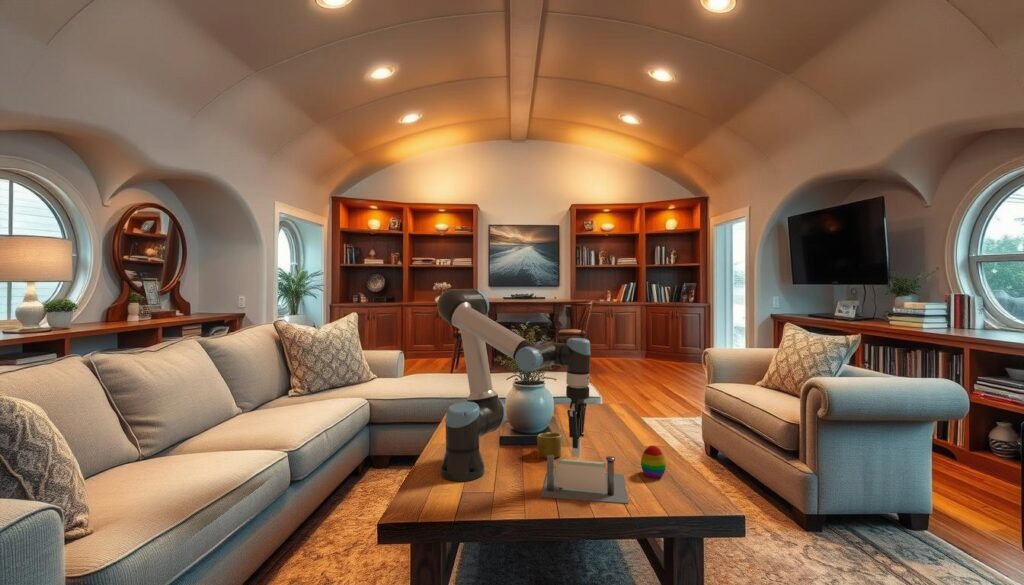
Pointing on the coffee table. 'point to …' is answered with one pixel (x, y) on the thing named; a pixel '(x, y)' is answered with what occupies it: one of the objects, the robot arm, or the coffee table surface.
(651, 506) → the coffee table surface
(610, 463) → the hinge post
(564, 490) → the mat
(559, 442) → the mug
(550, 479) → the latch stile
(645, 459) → the decorative egg
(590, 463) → the gate
